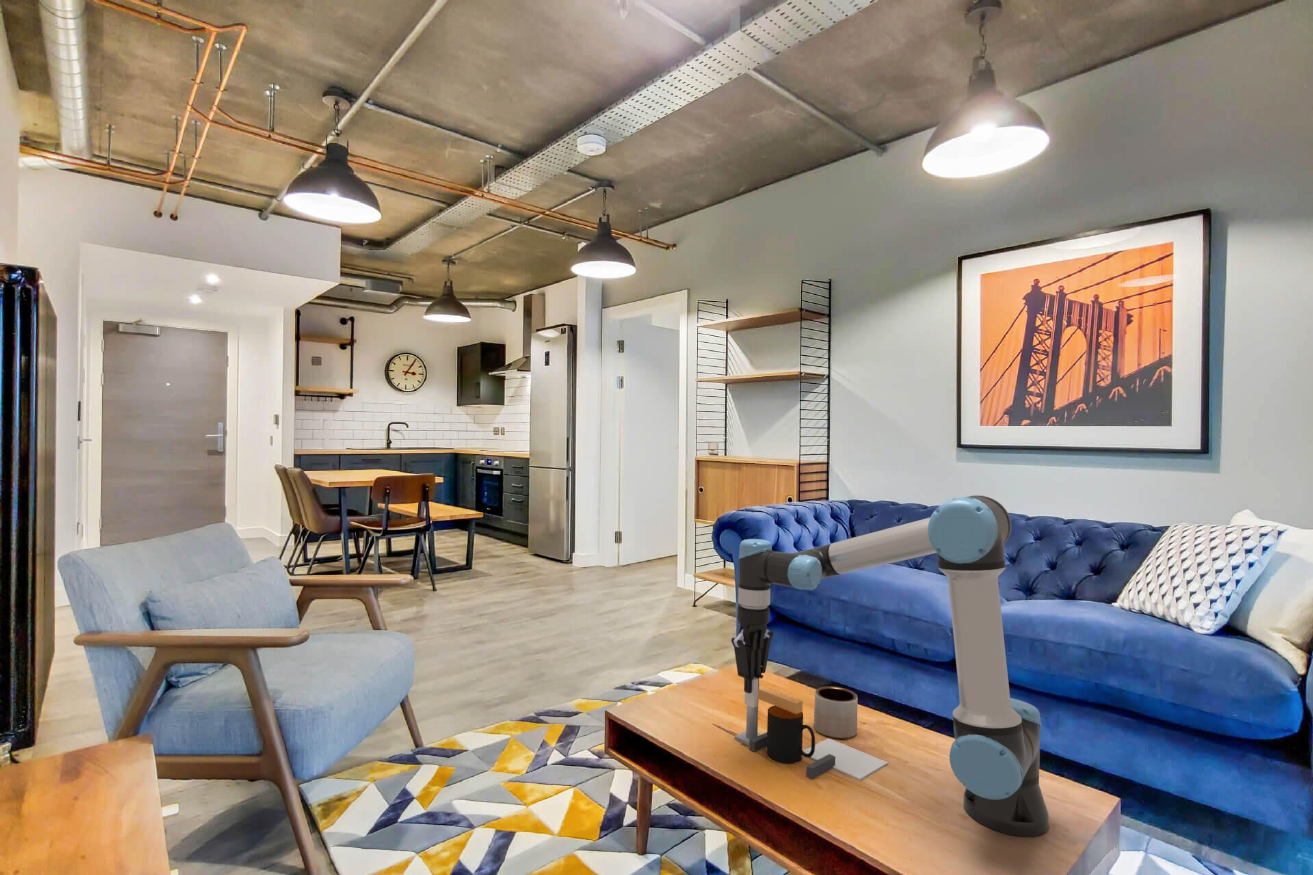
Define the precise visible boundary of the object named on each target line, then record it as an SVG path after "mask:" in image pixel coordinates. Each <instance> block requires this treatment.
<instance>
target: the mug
mask: <svg viewBox="0 0 1313 875" xmlns="http://www.w3.org/2000/svg"><path fill="white" fill-rule="evenodd" d="M766 722H767V723H766V724H767V727H766V729H767V730H766V732H767V747H766V755H767V757H768V758H769V760H771V761H773V762H774V763H779V764H783V765H784V764H785V765H792V764H793V765H794V764H798V763H800V762H801V761H802V759H803V757H804V758H808V757H811V756H812V755H813V754H814V751H815V745H816V736H815V732H814V730H813V728H812V727H811V726H809V725H808V724H804V712H803V711H802V712H800V713H798V714H795V713H792V712H790V711H787V710H785V709H782V708H780V707H777V706H775V705H771V706H770V707H769V708H768V709H767V721H766ZM805 729H807V730H808V732H810V735H811V743H810V744H811V745H810V747H811V751H810V753H809V754H806V753H804V752H803V750H804V749H803V742H804V741H803V734H804V730H805Z"/></svg>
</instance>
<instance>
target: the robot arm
mask: <svg viewBox="0 0 1313 875" xmlns="http://www.w3.org/2000/svg"><path fill="white" fill-rule="evenodd" d="M1011 532H1012V520H1011V516H1010V514H1009V512H1008V511H1007V509H1006V507H1004V506H1003V504H1001V503H1000V502H999V501H997V500H996V499H994V498H991V497H989V496H985V495H978V494H977V495H970V496H960V497H953V498H951V499H948V500H947V501H945V502H943V503H942V504H940V505H939V506H938V507H937V508H935V510H934V511H933V512H932V514H931V516H930V517H926V518H923V519H920V520H916V521H912V522H908V523H904V524H899V525H897V526H892V527H889V528H885V529H882V530H878V531H874V532H870V533H866V534H863V535H858V536H856V537H855V536H854V537H850V538H846V539H843V540H839V541H837V542H836V541H835V542H833V543H829V544H825V545H820V546H817V547H813V548H809V549H805V550H800V551H796V552H785V551H784V552H782V551H776V550H773V549H772V548H773V547H772V543H771V541H769V540H766V539H760V538H759V539H757V538H748V539H743V540H742V541H741V542H740V544H739V549H738V550H739V553H738V557H737V558H738V590H737V591H738V595H737V597H738V598H737V603H738V604H739V605H737V612H736V613H737V615H736V616H737V618H736V619H737V621H738V623H739V629H738V635H737V636H736V637H732V638H731V640H730V642H731V644H732V647H733V649H734V650H733V651H734V656H735V663H736V664H735V665H736V670H737V677H741V678H743V679H744V680H743V690H744V705H746V706H747V705H748V706H750V707H753V708H754V707H757V706H758V707H759V699H758V689H759V685H760V679H763V678H764V675H763V674H765V673H766V671H767V664H768V660H769V659H768V658H769V652H770V649H771V648H770V647H771V641H772V639H773V637H774V631H771V630H770V629H768V626H767V624H769V623H770V614H771V613H770V607H769V606H770V605H771V585H772V584H773V585H778V586H783V587H789V588H792V589H793V588H795V589H797V590H807V591H812V590H815V589H817V587H818V585H820V583H821V580H824V579H828V578H832V577H836V576H837V577H838V576H840V575H844V574H849V573H853V572H857V571H863V570H866V569H871V568H875V567H880V566H884V565H888V564H892V563H898V562H901V561H906V560H910V559H915V558H920V557H925V556H928V555H932V554H936V555H937V556H936V557H937V566H938V570H939V571H940V572H941V573H943V574H944V575H945V576H946V577H947V582H948V590H949V601H950V603H949V604H950V612H951V620H952V621H951V623H952V633H953V642H954V643H953V644H954V653H955V654H954V655H955V662H956V663H955V664H956V673H957V685H958V693H959V704H958V706H957V707H956V708H954V709H953V711H952V722H953V733H954V741H953V742H952V744H951V747H950V751H949V764H950V768H951V771H952V772H953V774H954V776H955V777H956V779H957V780H958V782H960V783H961V784H962V786H964V787H965V790H964V792H963V807H964V810H965V812H966V813H967V814H968V815H969V817H971V818H973V820H975V821H976V822H977V823H980V824H981V825H982V826H985V827H987V828H990V829H991V830H995V831H997V832H1000V833H1003V834H1006V835H1007V834H1008V835H1012V836H1016V835H1017V837H1037V836H1041V835H1043V834H1045V833H1046V832H1047V831H1048V830H1047V829H1049V823H1050V822H1049V818H1050V815H1049V812H1048V809H1047V806H1046V803H1045V802H1046V801H1045V800H1044V797H1043V796H1044V795H1043V793H1042V790H1041V787H1040V757H1041V755H1040V753H1041V744H1040V742H1041V726H1042V722H1041V712H1040V711H1039V709H1038V708H1037V707H1035V706H1034V705H1032V704H1030V703H1028V702H1026V701H1023V700H1019V699H1016V698H1012V697H1011V695H1010V694H1011V693H1010V685H1009V675H1008V665H1007V656H1006V646H1005V637H1004V627H1003V626H1004V625H1003V618H1002V609H1001V608H1002V607H1001V597H1000V589H999V576H1000V575H1001V574H1002V573H1003V572H1004V571H1005V570H1006V559H1005V549H1004V545H1005V544H1006V542H1007V541H1008V540H1009V538H1010V535H1011ZM1045 831H1046V832H1045ZM1044 832H1045V833H1044ZM1042 833H1043V834H1042ZM1036 835H1037V836H1036Z"/></svg>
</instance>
